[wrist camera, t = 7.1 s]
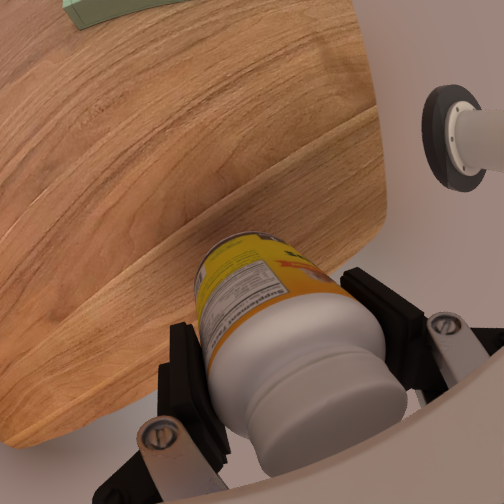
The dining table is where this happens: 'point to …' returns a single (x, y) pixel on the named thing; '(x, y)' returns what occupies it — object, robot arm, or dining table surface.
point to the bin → (106, 9)
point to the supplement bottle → (290, 354)
